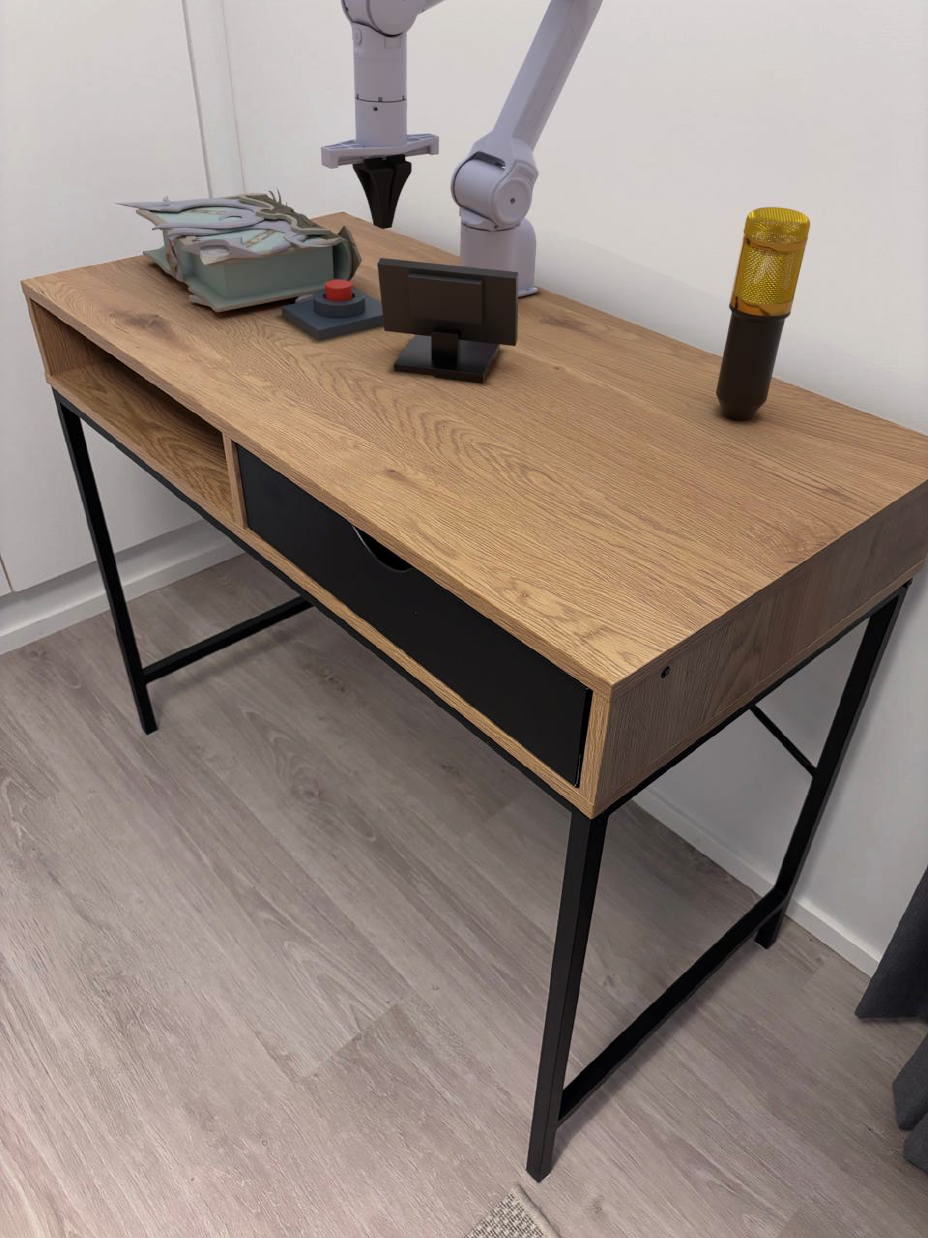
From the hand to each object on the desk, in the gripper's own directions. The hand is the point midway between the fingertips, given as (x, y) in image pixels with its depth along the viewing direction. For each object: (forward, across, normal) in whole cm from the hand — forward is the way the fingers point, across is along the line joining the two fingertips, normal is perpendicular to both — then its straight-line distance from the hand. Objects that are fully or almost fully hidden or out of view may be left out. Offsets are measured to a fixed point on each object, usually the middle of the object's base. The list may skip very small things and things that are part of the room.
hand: (382, 226), depth 117 cm
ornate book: (+11, +9, -21) cm, 25 cm away
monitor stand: (+10, +2, +16) cm, 19 cm away
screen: (+8, +2, +16) cm, 18 cm away
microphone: (+10, -15, +40) cm, 44 cm away
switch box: (+10, +6, -1) cm, 12 cm away
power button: (+8, +6, -1) cm, 10 cm away
